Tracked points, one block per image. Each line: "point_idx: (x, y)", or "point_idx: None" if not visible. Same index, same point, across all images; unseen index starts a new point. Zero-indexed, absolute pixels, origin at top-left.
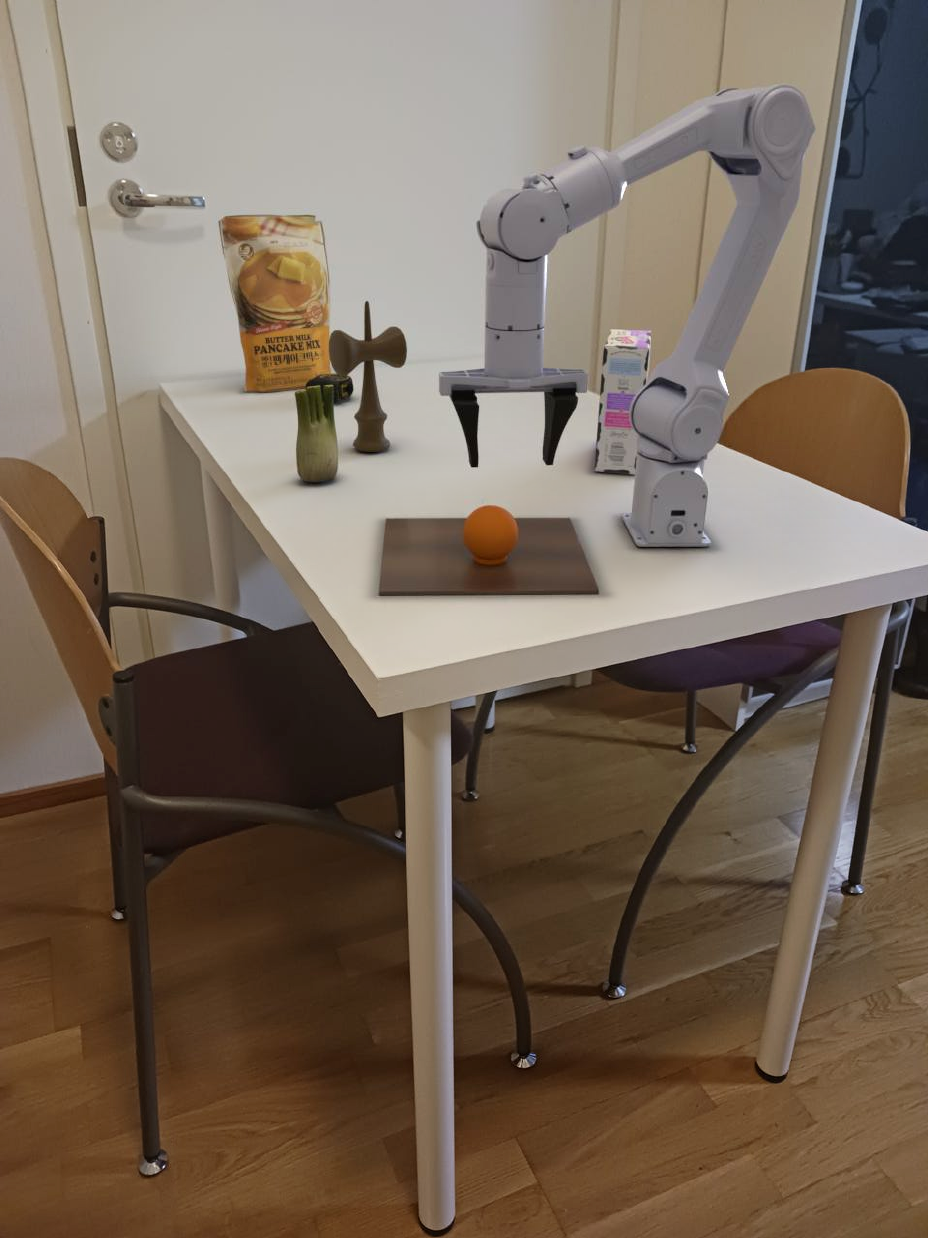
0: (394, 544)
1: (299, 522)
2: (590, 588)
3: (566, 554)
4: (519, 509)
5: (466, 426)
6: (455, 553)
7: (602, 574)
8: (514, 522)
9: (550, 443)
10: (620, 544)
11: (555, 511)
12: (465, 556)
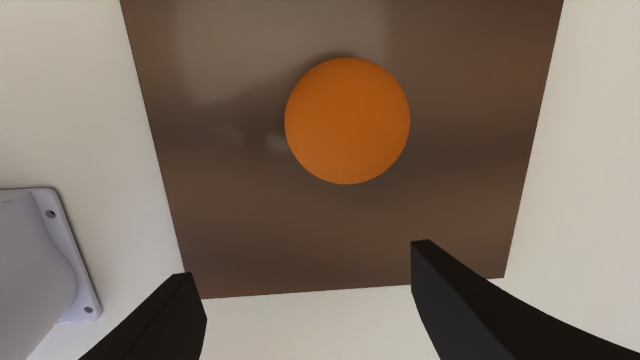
0: (508, 169)
1: (636, 263)
2: None
3: (189, 136)
4: (280, 334)
5: (550, 323)
6: None
7: (112, 54)
8: (293, 116)
9: (150, 318)
10: (92, 204)
11: (220, 331)
12: None
